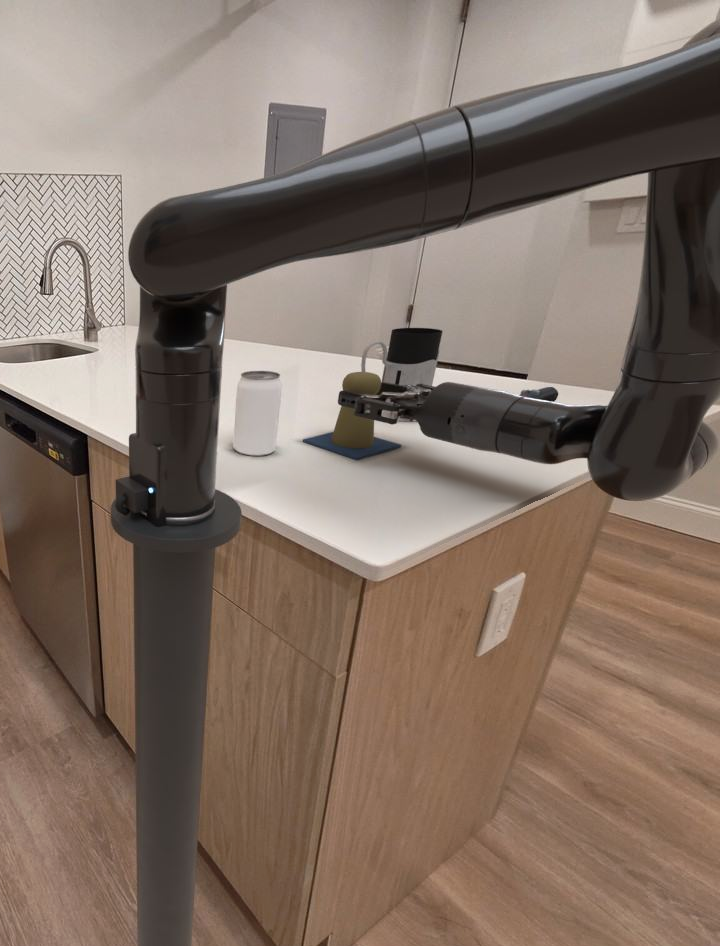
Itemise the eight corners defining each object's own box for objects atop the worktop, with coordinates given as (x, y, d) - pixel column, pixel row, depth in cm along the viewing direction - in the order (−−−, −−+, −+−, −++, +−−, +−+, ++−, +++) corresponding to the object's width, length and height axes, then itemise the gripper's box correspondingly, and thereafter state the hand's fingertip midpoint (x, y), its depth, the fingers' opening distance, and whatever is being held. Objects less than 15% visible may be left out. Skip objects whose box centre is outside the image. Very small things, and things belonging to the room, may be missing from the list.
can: (284, 453, 80) (292, 376, 76) (246, 459, 79) (252, 380, 74) (260, 440, 86) (267, 368, 81) (225, 445, 85) (229, 372, 80)
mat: (356, 460, 77) (357, 457, 76) (302, 441, 85) (302, 439, 85) (401, 447, 80) (401, 444, 80) (345, 430, 89) (345, 428, 89)
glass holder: (440, 418, 92) (460, 331, 86) (370, 427, 90) (385, 338, 84) (402, 406, 100) (418, 325, 94) (337, 414, 98) (349, 332, 92)
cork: (379, 448, 79) (392, 377, 75) (336, 448, 80) (347, 377, 76) (366, 436, 85) (378, 368, 80) (326, 435, 86) (336, 369, 81)
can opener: (529, 412, 93) (539, 381, 91) (575, 422, 87) (586, 389, 85) (459, 426, 88) (467, 394, 86) (502, 438, 82) (512, 403, 79)
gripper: (513, 380, 67) (394, 362, 81) (445, 396, 62) (329, 374, 75) (497, 435, 70) (385, 409, 84) (431, 456, 64) (322, 424, 78)
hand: (359, 392), depth 79 cm, fingers open, 8 cm apart
